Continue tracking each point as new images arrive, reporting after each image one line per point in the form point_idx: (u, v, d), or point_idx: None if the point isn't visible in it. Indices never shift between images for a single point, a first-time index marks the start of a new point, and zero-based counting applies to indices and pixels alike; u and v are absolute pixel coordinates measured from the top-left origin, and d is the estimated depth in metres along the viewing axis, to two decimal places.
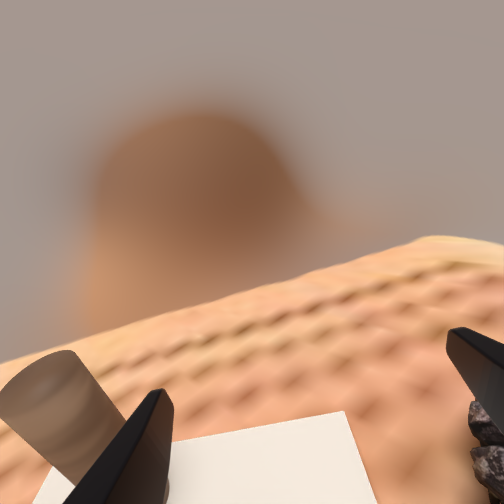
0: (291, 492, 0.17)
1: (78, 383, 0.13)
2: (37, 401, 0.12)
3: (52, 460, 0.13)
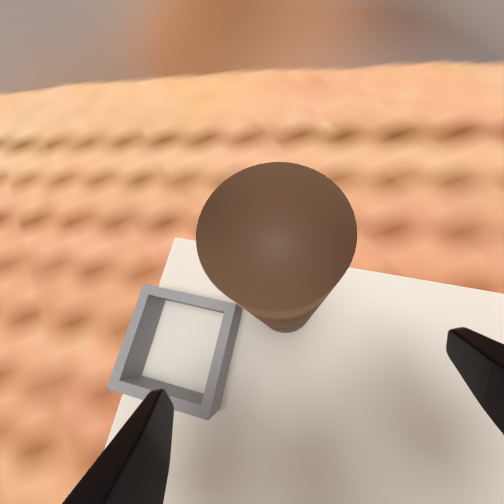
0: None
1: None
2: (308, 297, 0.05)
3: (261, 319, 0.09)
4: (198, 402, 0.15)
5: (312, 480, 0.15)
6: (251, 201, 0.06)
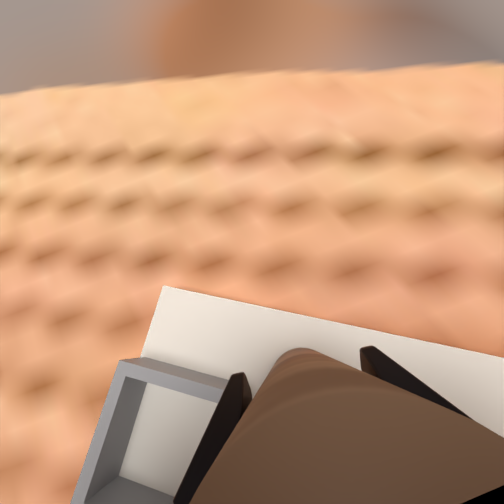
0: None
1: None
2: None
3: None
4: None
5: None
6: None
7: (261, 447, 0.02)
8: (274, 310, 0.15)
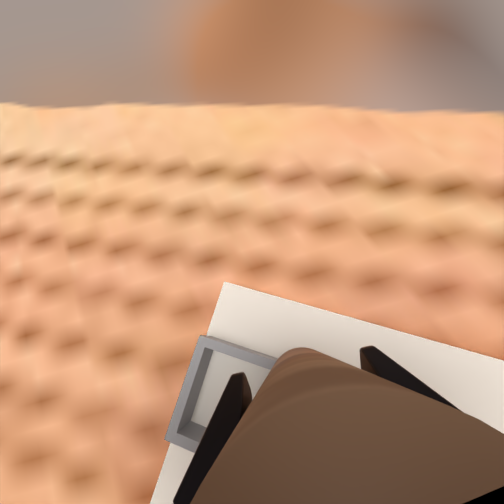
0: None
1: None
2: None
3: None
4: None
5: None
6: None
7: (263, 445, 0.02)
8: (312, 307, 0.20)
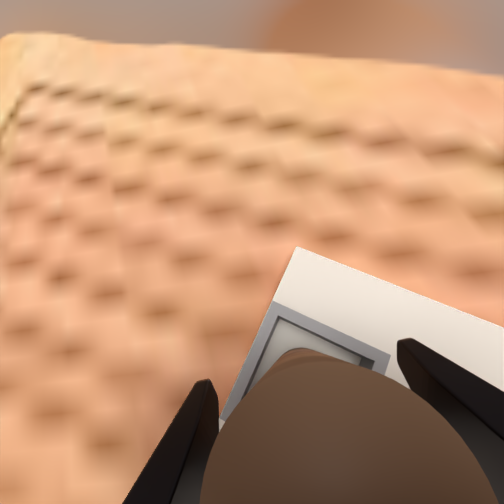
0: None
1: None
2: None
3: None
4: None
5: None
6: (297, 448, 0.03)
7: (264, 397, 0.04)
8: (406, 290, 0.16)
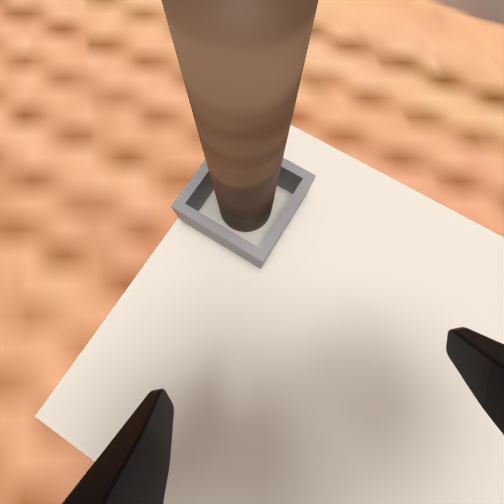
0: (482, 294, 0.17)
1: (309, 34, 0.06)
2: (264, 31, 0.05)
3: (218, 145, 0.09)
4: None
5: (327, 347, 0.16)
6: None
7: None
8: (340, 152, 0.20)
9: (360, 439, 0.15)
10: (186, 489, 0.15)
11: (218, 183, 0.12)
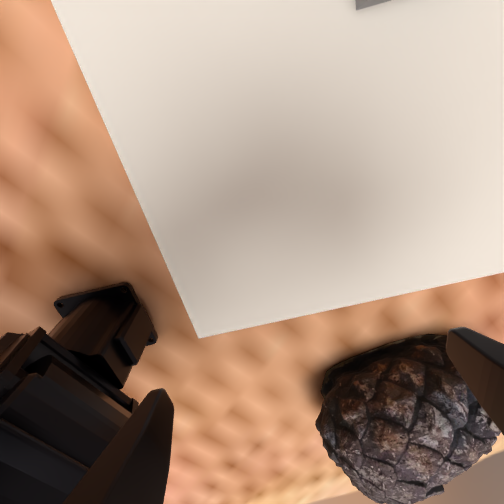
0: (456, 225, 0.18)
1: None
2: None
3: None
4: None
5: (328, 148, 0.16)
6: None
7: None
8: None
9: (284, 222, 0.18)
10: (139, 136, 0.15)
11: None
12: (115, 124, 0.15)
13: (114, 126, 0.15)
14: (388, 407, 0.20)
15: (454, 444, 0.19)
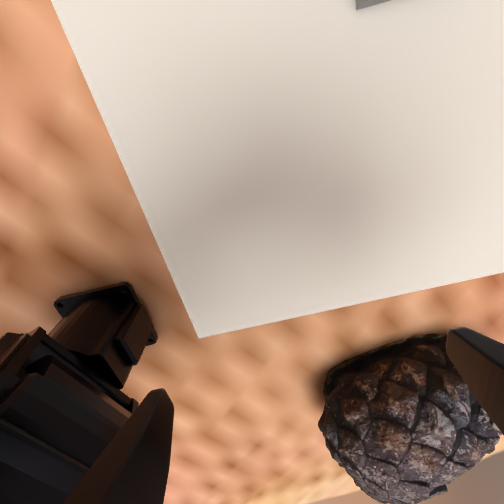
0: (456, 225, 0.18)
1: None
2: None
3: None
4: None
5: (328, 148, 0.16)
6: None
7: None
8: None
9: (284, 222, 0.18)
10: (138, 136, 0.15)
11: None
12: (115, 124, 0.15)
13: (114, 126, 0.15)
14: (390, 408, 0.20)
15: (456, 443, 0.19)
